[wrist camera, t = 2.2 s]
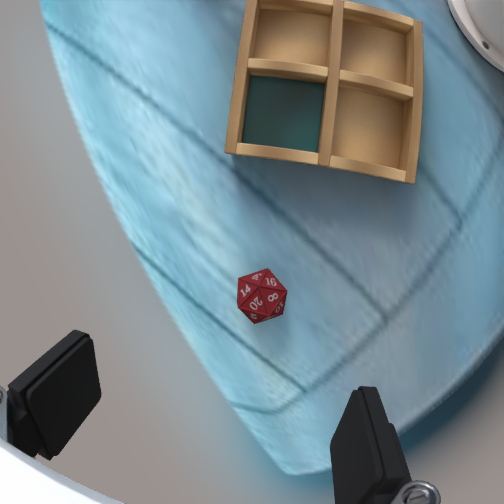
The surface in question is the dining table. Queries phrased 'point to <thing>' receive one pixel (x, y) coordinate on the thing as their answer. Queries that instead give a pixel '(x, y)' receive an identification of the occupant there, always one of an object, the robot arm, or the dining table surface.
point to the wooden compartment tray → (329, 87)
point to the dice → (261, 296)
